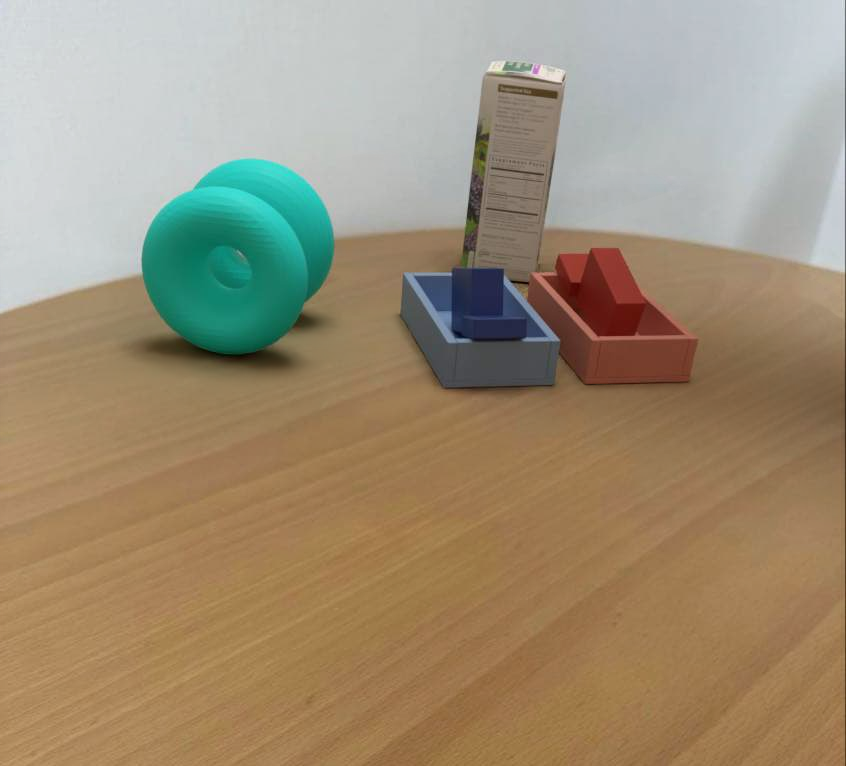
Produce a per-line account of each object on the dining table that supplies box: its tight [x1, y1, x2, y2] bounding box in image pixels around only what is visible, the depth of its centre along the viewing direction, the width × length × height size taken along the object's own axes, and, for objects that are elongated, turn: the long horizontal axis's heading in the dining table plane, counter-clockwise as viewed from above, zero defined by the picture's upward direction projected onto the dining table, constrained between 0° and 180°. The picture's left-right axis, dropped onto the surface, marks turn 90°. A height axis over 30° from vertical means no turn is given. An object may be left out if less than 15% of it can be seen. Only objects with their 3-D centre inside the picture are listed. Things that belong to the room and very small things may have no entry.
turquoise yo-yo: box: [141, 158, 335, 356], centre depth 71 cm, size 10×10×10 cm
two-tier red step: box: [554, 247, 646, 337], centre depth 76 cm, size 9×3×4 cm, turn 14°
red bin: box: [526, 271, 699, 385], centre depth 76 cm, size 7×12×3 cm, turn 13°
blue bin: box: [399, 272, 560, 389], centre depth 74 cm, size 7×12×3 cm, turn 13°
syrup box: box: [460, 60, 568, 283], centre depth 85 cm, size 6×6×14 cm
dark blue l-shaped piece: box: [451, 267, 527, 339], centre depth 71 cm, size 9×3×4 cm, turn 10°
